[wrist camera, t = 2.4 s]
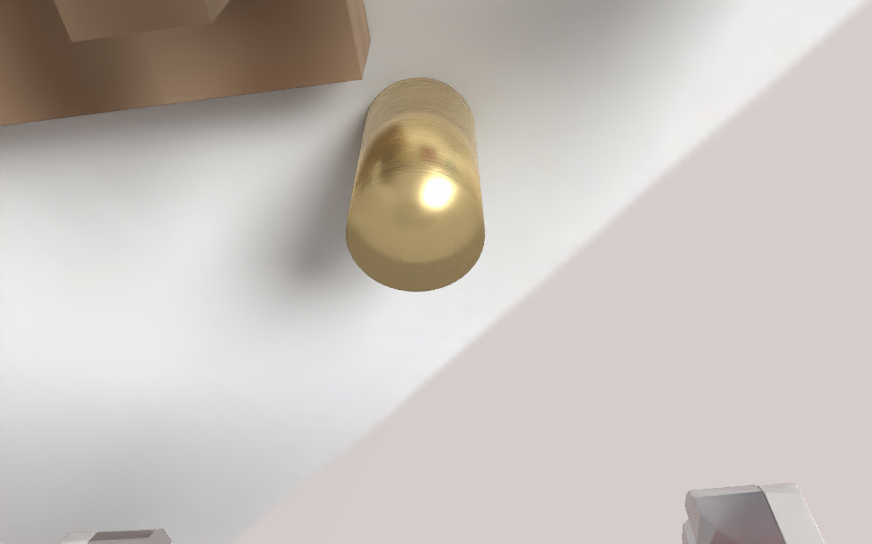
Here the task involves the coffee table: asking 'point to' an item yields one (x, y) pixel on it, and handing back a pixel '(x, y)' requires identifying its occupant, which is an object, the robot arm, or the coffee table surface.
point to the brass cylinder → (417, 189)
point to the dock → (169, 52)
